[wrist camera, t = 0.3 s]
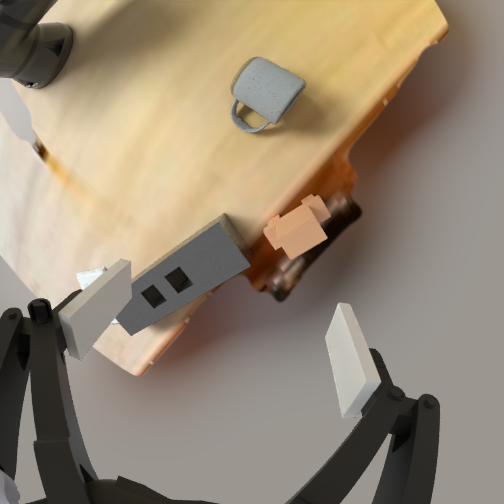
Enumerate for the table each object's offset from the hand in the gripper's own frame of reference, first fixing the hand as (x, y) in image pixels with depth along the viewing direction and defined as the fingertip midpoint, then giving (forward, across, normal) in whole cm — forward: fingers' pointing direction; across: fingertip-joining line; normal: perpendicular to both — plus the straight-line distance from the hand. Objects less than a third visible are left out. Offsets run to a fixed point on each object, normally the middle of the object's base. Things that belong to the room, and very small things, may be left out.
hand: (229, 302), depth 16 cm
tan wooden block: (+28, +6, 0) cm, 28 cm away
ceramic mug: (+28, -2, +16) cm, 32 cm away
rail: (+28, -12, -14) cm, 33 cm away
